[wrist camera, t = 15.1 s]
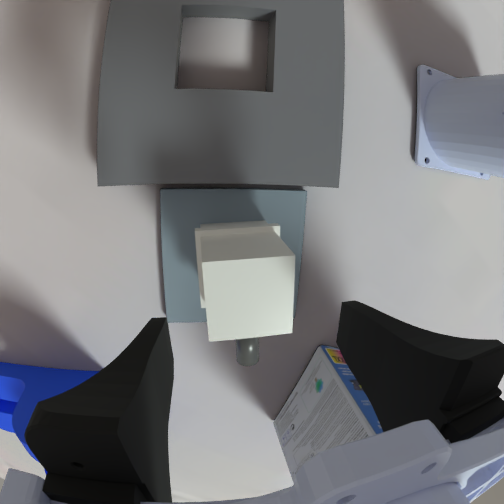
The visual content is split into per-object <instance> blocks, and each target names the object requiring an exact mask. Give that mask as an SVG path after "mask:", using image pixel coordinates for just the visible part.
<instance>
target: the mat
mask: <svg viewBox="0 0 504 504" xmlns="http://www.w3.org/2000/svg"><path fill="white" fill-rule="evenodd" d="M306 199H307V191H305V190H294V189H263V188H161V189H160V206H161V239H162V260H163V276H164V291H165V303H166V315H167V322H168V323H174V322H207V316H206V308H201V300H200V290H199V279H198V267H197V255H196V242H195V228H200V224H213V223H229V222H246V221H263V220H265V221H266V222H267V223H268V224H272V223H278V224H279V225H280V238H281V239H282V240H283V242H284V243H285V244H286V245H287V246H288V247H289V249H290V250H291V251H292V252H293V253H294V254H295V280H294V305H293V318H295V312H296V304H297V295H298V286H299V276H300V267H301V257H302V246H303V235H304V224H305V212H306Z"/></svg>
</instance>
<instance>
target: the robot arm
mask: <svg viewBox="0 0 504 504" xmlns="http://www.w3.org/2000/svg"><path fill="white" fill-rule="evenodd" d="M427 71H428V72H429V75H428V73H427ZM425 158H426V163H425ZM415 163H416V164H417V165H418V166H423V167H429V168H434V169H440V170H445V171H450V172H455V173H460V174H464V175H469V176H473V177H478V178H482V179H486V180H488V179H489V178H490V176H491V175H493V176H497V177H501V178H504V74H498V75H485V76H475V77H466V78H456V77H453V76H451V75H449V74H446V73H444V72H441V71H439V70H437V69H434V68H431V67H429V66H426V65H419V66H418V67H417V128H416V146H415ZM336 342H337V345H338V347H339V350H340V352H341V354H342V356H343V359H344V361H345V362H346V364H347V366H348V367H349V369H350V370H351V372H352V374H353V375H354V377H355V378H356V380H357V381H358V383H359V384H360V386H361V388H362V389H363V391H364V392H365V394H366V396H367V397H368V399H369V401H370V403H371V405H372V407H373V409H374V411H375V414H376V416H377V418H378V420H379V423H380V425H381V428H382V430H383V433H379V434H376V435H373V436H370V437H366V438H363V439H359V440H356V441H352V442H349V443H345V444H341V445H337V446H335V447H332V448H330V449H327V450H324V451H321V452H319V453H318V454H316V455H315V456H313V457H312V458H310V459H309V460H307V461H306V462H305V463H304V464H303V465H302V467H301V468H300V470H299V471H298V473H297V474H296V476H295V481H294V485H293V486H292V487H289V488H286V489H283V490H280V491H276V492H273V493H270V494H266V495H263V496H259V497H254V498H245V499H236V500H225V501H211V502H184V503H172V498H171V487H170V475H169V456H168V421H169V413H170V404H171V396H172V388H173V380H174V358H173V352H172V347H171V341H170V335H169V329H168V322H167V317H165V318H151V320H150V321H149V322H148V323H147V324H146V325H145V327H144V328H143V329H142V330H141V332H140V333H139V334H138V335H137V336H136V338H135V339H134V340H133V341H132V342H131V343H130V344H129V346H128V347H127V348H126V349H125V350H124V351H123V352H122V353H121V354H120V355H119V356H118V357H117V358H116V359H114V360H113V361H112V362H111V363H110V364H109V365H107V366H106V367H105V368H104V369H102V370H101V371H100V372H98V373H97V374H95V375H94V376H92V377H90V378H89V379H87V380H86V381H84V382H83V383H81V384H79V385H77V386H75V387H74V388H72V389H70V390H67V391H65V392H63V393H61V394H59V395H56V396H53V397H51V398H48V399H45V400H42V401H39V402H38V403H37V405H36V407H35V409H34V411H33V413H32V416H31V418H30V420H29V423H28V425H27V428H26V430H25V434H24V437H25V441H26V443H27V445H28V447H29V448H30V450H31V451H32V453H33V454H34V455H35V457H36V458H37V459H38V461H39V462H40V463H41V465H42V466H43V467H44V468H45V470H46V471H47V475H46V479H45V480H44V479H43V478H41V477H39V476H37V475H34V474H30V473H26V472H23V471H19V470H15V469H12V468H10V469H8V472H7V475H6V478H5V481H4V484H3V487H2V490H1V493H0V504H471V503H470V502H471V501H473V500H474V499H476V498H477V497H478V496H480V495H481V494H482V493H484V492H485V491H486V490H488V489H489V488H490V487H491V486H493V485H494V484H495V483H497V482H498V481H499V480H500V479H501V478H503V477H504V401H503V400H502V399H501V398H500V397H499V396H500V395H501V394H502V391H501V390H500V389H499V388H498V385H499V383H500V381H501V379H502V377H503V375H504V344H503V343H502V342H500V341H499V340H479V339H467V338H459V337H452V336H448V335H443V334H438V333H434V332H431V331H428V330H424V329H421V328H418V327H415V326H412V325H410V324H407V323H405V322H402V321H400V320H398V319H395V318H393V317H391V316H389V315H387V314H385V313H382V312H380V311H378V310H376V309H374V308H372V307H370V306H367V305H365V304H363V303H360V302H358V301H348V302H342V306H341V313H340V321H339V328H338V334H337V341H336Z"/></svg>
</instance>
